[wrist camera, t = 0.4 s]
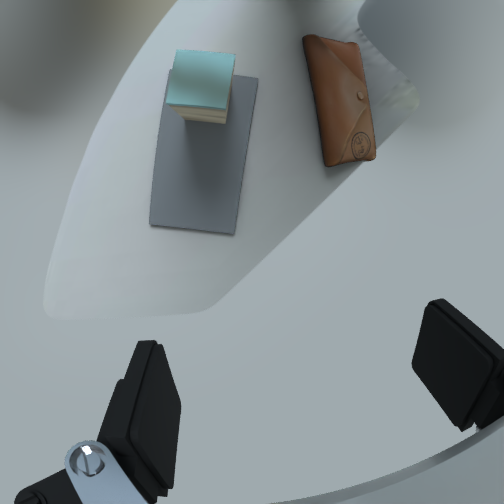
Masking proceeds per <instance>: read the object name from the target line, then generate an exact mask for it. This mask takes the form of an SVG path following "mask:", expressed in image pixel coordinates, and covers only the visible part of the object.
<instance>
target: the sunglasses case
mask: <svg viewBox="0 0 504 504" xmlns="http://www.w3.org/2000/svg"><path fill="white" fill-rule="evenodd" d="M302 41H303V47H304V51H305V55H306V60H307V63H308V69H309V73H310V78H311V83H312V88H313V93H314V99H315V103H316V109H317V116H318V121H319V128H320V135H321V142H322V151H323V157H324V162H325V166H326V167H332V166H336V165H339V164H343V163H347V162H354V161H361V160H365V161H364V162H367V161H372V160H374V159H375V158H376V145H375V136H374V129H373V123H372V116H371V110H370V104H369V98H368V92H367V86H366V81H365V75H364V70H363V64H362V59H361V53H360V49H359V46H358V44H356V43H353V42H348V43H344V42H340V41H335V40H331V39H327V38H322V37H319V36H317V35H314V34H310V35H306V36H304V37H303V38H302Z"/></svg>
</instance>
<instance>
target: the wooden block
mask: <svg viewBox="0 0 504 504" xmlns="http://www.w3.org/2000/svg"><path fill="white" fill-rule="evenodd" d="M234 64H235V54H227V53H218V52H207V51H194V50H176V55H175V59H174V64H173V68H172V73H171V78H170V83H169V88H168V94H167V99H166V104H167V105H169V106H170V107H171V108H172V109H173V110H174V111H175V112H177V113H178V114H179V115H180V116H181V117H182V118H183V119H185V120H195V121H204V122H214V123H222V124H226V118H227V112H228V106H229V100H230V94H231V88H232V81H233V72H234Z"/></svg>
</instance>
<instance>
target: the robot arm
mask: <svg viewBox="0 0 504 504" xmlns="http://www.w3.org/2000/svg"><path fill="white" fill-rule="evenodd" d="M412 368H413V370H414V372H415V373H416V374H417V375H418V377H419V378H420V379H421V381H422V382H423V383H424V385H425V386H426V387H427V389H428V390H429V392H430V393H431V394H432V396H433V397H434V398H435V400H436V401H437V402H438V404H439V405H440V407H441V408H442V409H443V411H444V412H445V413H446V415H447V416H448V418H449V419H450V420H451V422H452V423H453V424H454V426H457V427H458V428H459V429H460V431H461V432H463V431H464V430H466V429H468V428H470V427H472V425H473V424H474V422H475V424H476V425H477V426H476V433H475V434H474V435H472V436H470V437H469V438H467V439H465V440H463V441H461V442H460V443H458V444H456V445H454V446H452V447H450V448H448V449H446V450H445V451H442V452H440V453H438V454H436V455H434V456H432V457H430V458H428V459H425V460H423V461H421V462H419V463H417V464H414V465H412V466H410V467H407V468H405V469H402V470H400V471H397V472H395V473H392V474H389V475H386V476H383V477H381V478H378V479H375V480H372V481H369V482H366V483H362V484H359V485H356V486H352V487H349V488H345V489H342V490H338V491H334V492H330V493H326V494H321V495H317V496H312V497H307V498H302V499H297V500H291V501H285V502H278V503H272V504H504V349H503V348H502V347H501V346H499V345H498V344H497V343H496V342H495V341H494V340H493V339H491V338H490V337H489V336H488V335H487V334H486V333H485V332H484V331H482V330H481V329H480V328H479V327H478V326H476V325H475V324H474V323H473V322H472V321H471V320H469V319H468V318H467V317H466V316H465V315H463V314H462V313H461V312H460V311H459V310H457V309H456V308H455V307H454V306H452V305H451V304H450V303H449V302H447V301H446V300H445V299H437V300H433V301H430V302H429V303H428V305H427V306H426V307H425V310H424V315H423V319H422V324H421V328H420V332H419V336H418V340H417V344H416V348H415V352H414V355H413V359H412ZM180 414H181V401H180V398H179V395H178V392H177V389H176V386H175V383H174V380H173V377H172V374H171V371H170V368H169V364H168V361H167V358H166V354H165V351H164V348H163V345H162V344H157V342H156V341H155V340H146V341H138V343H137V345H136V348H135V350H134V353H133V356H132V358H131V361H130V363H129V366H128V369H127V372H126V374H125V377H124V379H120V380H119V381H118V382H117V384H116V387H115V389H114V392H113V395H112V397H111V400H110V403H109V406H108V408H107V411H106V414H105V417H104V420H103V423H102V426H101V429H100V432H99V435H98V438H97V441H92V440H91V441H83V442H79V443H77V444H76V445H74V446H73V447H72V448H71V449H70V450H69V451H68V452H67V455H66V457H65V469H63V470H61V471H59V472H57V473H55V474H53V475H51V476H49V477H47V478H45V479H43V480H41V481H39V482H37V483H35V484H33V485H31V486H28V487H26V488H24V489H23V490H21V491H20V492H19V493H18V495H17V496H16V498H15V501H14V504H155V503H156V502H157V496H163V497H167V495H168V489H172V488H173V485H174V474H175V463H176V452H177V442H178V433H179V423H180Z"/></svg>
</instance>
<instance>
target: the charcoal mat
mask: <svg viewBox="0 0 504 504" xmlns="http://www.w3.org/2000/svg"><path fill="white" fill-rule="evenodd" d="M171 73H172V69H170V71H169V76H168V81H167V86H166V91H165V97H164V102H163V108H162V114H161V120H160V127H159V133H158V140H157V148H156V156H155V164H154V173H153V182H152V192H151V204H150V217H149V224H153V225H162V226H171V227H179V228H188V229H197V230H205V231H213V232H222V233H230V234H234V231H235V224H236V217H237V210H238V203H239V196H240V190H241V183H242V176H243V170H244V163H245V157H246V150H247V144H248V138H249V131H250V125H251V119H252V113H253V107H254V101H255V95H256V89H257V83H258V78H252V77H245V76H238V75H233V81H232V88H231V94H230V100H229V106H228V112H227V118H226V124H222V123H214V122H204V121H195V120H185V119H183V118H182V117H181V116H180V115H179V114H178V113H177V112H175V111H174V110H173V109H172V108H171V107H170V106H169V105H167V104H166V99H167V94H168V88H169V83H170V78H171Z"/></svg>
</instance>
